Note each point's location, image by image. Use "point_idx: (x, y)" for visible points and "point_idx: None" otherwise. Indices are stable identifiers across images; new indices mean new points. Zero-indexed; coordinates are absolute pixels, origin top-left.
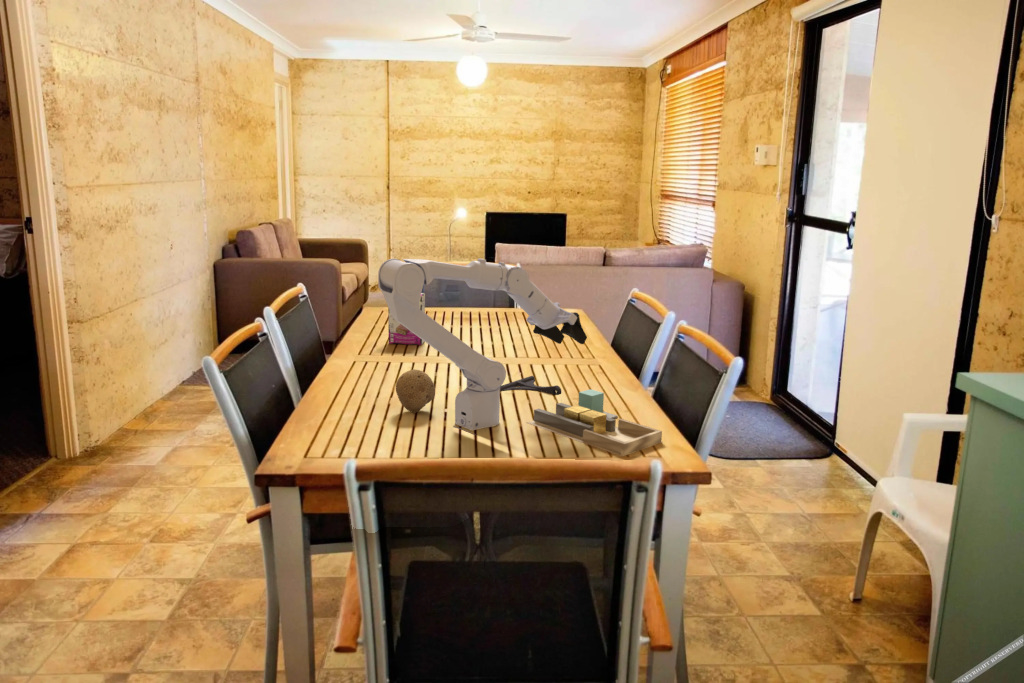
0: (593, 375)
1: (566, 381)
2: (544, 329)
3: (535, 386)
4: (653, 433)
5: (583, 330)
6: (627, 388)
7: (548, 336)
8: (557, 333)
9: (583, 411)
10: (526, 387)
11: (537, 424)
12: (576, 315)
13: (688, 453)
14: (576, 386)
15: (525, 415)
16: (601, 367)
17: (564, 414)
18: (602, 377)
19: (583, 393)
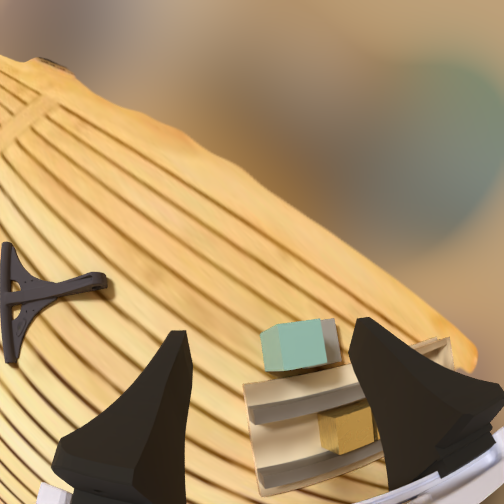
0: (78, 141)
1: (59, 201)
2: (178, 489)
3: (44, 291)
4: (451, 355)
5: (400, 340)
6: (173, 149)
7: (184, 449)
8: (179, 381)
9: (372, 426)
10: (32, 306)
11: (284, 485)
12: (499, 409)
13: (452, 324)
14: (92, 209)
15: (189, 457)
16: (68, 109)
17: (333, 451)
18: (97, 137)
19: (299, 367)
